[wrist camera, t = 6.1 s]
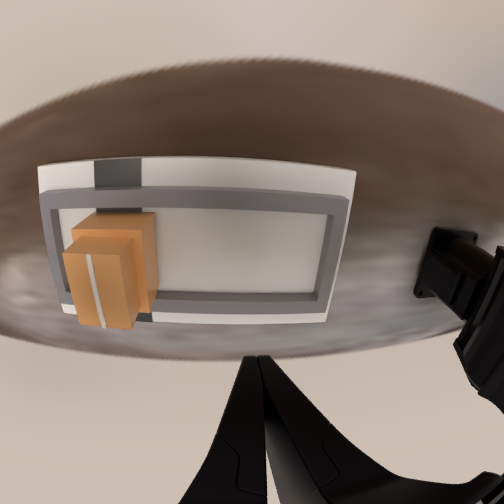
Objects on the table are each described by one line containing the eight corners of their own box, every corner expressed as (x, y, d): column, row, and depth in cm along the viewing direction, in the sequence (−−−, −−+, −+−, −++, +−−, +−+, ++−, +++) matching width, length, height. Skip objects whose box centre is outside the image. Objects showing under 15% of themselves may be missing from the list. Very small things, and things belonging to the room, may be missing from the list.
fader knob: (154, 212, 15) (128, 247, 11) (159, 285, 17) (142, 337, 13) (93, 212, 15) (51, 245, 10) (103, 282, 17) (73, 330, 12)
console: (348, 168, 17) (364, 174, 15) (320, 312, 21) (329, 330, 19) (47, 163, 14) (29, 169, 12) (70, 304, 19) (59, 320, 17)
